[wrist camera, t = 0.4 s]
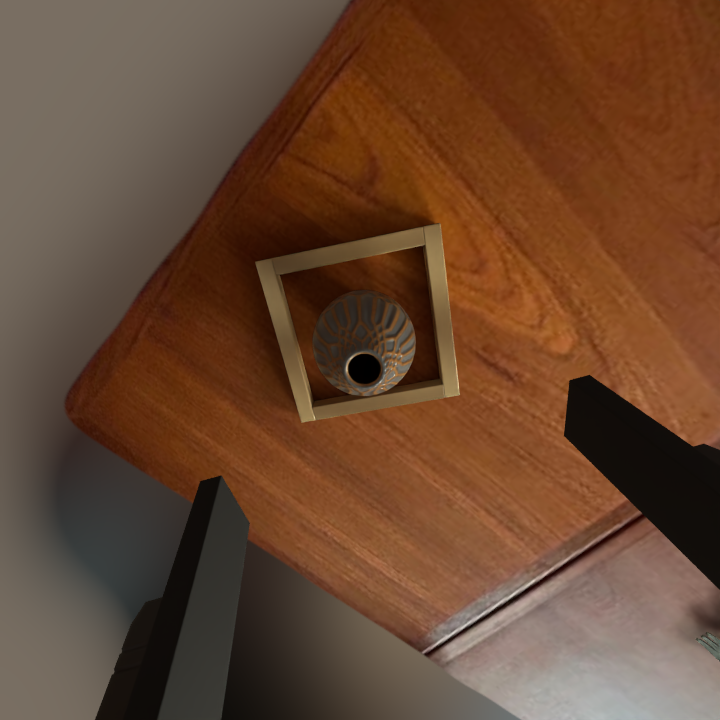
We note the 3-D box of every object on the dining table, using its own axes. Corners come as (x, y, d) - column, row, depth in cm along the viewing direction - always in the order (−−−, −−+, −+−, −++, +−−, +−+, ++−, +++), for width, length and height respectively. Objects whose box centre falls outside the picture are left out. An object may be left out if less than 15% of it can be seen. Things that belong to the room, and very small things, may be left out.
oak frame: (259, 260, 25) (254, 261, 24) (436, 223, 24) (440, 222, 23) (303, 415, 30) (301, 422, 29) (456, 389, 29) (459, 395, 28)
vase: (425, 338, 27) (452, 383, 19) (353, 385, 29) (350, 446, 20) (375, 264, 25) (381, 278, 17) (301, 318, 27) (274, 355, 19)
